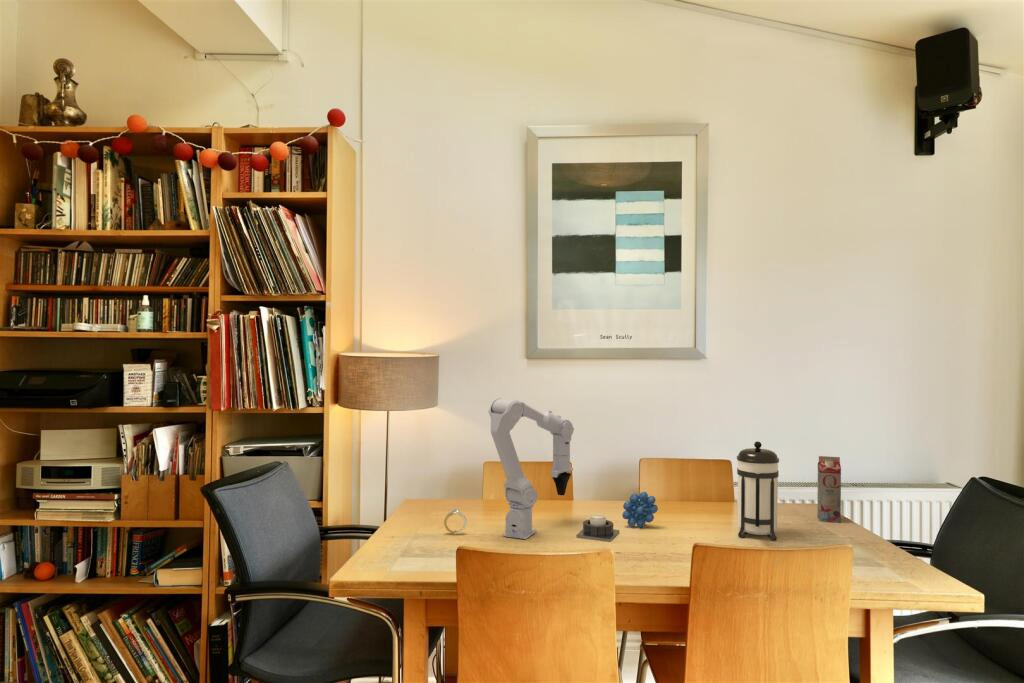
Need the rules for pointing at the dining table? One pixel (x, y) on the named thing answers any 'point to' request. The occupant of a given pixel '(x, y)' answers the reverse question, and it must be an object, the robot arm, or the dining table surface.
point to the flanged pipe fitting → (598, 531)
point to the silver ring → (451, 515)
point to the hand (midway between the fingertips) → (561, 494)
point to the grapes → (639, 509)
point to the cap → (598, 520)
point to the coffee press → (757, 491)
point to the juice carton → (829, 489)
